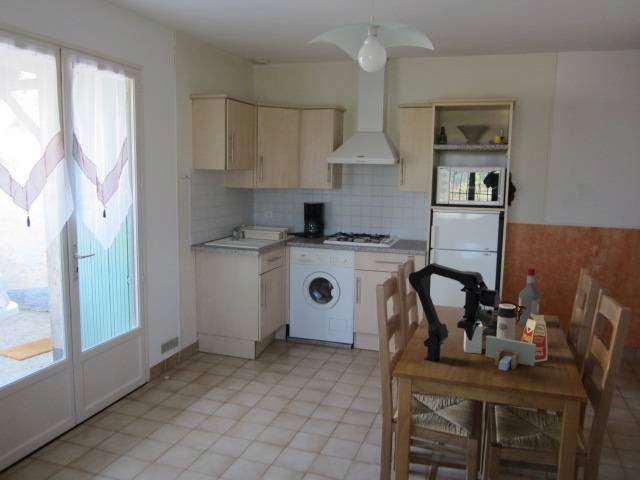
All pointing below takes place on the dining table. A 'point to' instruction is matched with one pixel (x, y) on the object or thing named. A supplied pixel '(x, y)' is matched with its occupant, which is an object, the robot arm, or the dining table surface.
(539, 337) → the milk carton
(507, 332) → the travel mug
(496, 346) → the backstop board
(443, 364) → the dining table surface
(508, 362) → the blue-gray block
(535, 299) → the liquor
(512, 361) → the brown u-shaped bracket
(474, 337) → the supplement box
